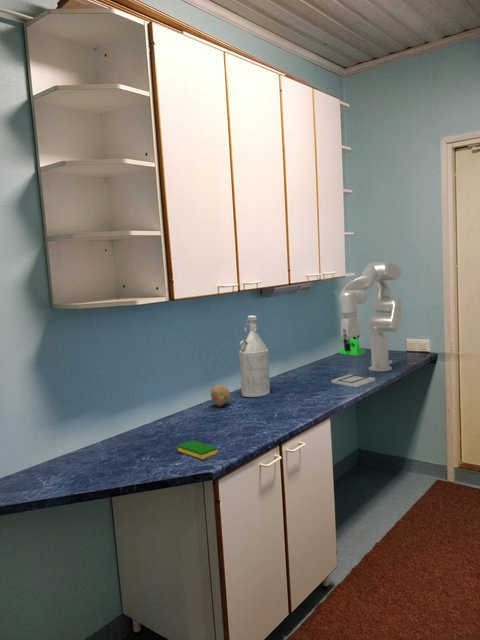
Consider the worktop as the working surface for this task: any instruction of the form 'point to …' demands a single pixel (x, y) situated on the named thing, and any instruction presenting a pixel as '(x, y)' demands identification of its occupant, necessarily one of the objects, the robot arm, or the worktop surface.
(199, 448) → the dish sponge
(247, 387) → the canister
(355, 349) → the mechanical part
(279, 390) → the worktop surface
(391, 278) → the robot arm
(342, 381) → the flange
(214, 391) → the natural sponge
